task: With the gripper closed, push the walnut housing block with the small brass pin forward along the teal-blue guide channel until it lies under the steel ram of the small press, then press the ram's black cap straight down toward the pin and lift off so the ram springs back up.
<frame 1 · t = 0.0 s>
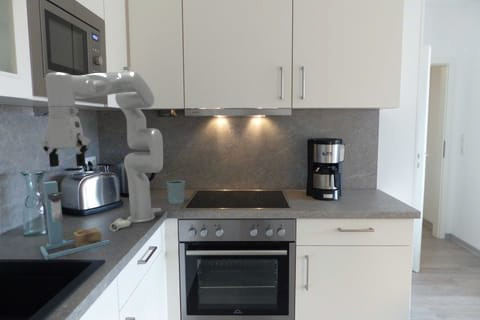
hand: (67, 166, 103), 31 cm above the countertop, tool pointing down, fingers open, 9 cm apart
pipe fitting: (121, 229, 137), on the countertop
drinking glass: (177, 202, 181), on the countertop
ram: (56, 207, 112), point 16 cm above the countertop, slide at 0.8 cm
housing: (87, 244, 119), resting in press
press: (60, 250, 114), on the countertop
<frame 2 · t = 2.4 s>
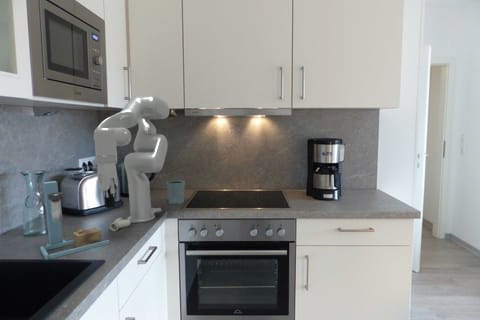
hand: (110, 206, 123), 13 cm above the countertop, tool pointing down, fingers closed
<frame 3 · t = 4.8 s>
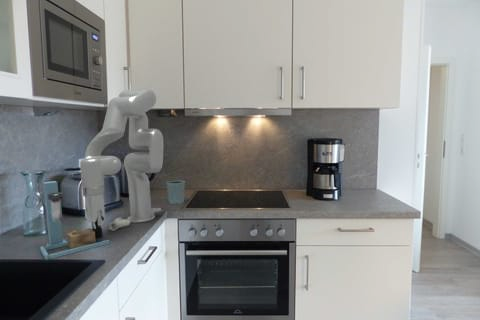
hand: (97, 237, 121), 1 cm above the countertop, tool pointing down, fingers closed
housing: (82, 245, 118), resting in press, touching gripper
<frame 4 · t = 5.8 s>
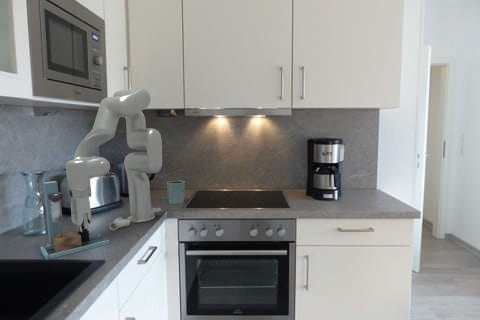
hand: (84, 241, 118), 1 cm above the countertop, tool pointing down, fingers closed
housing: (68, 249, 115), resting in press
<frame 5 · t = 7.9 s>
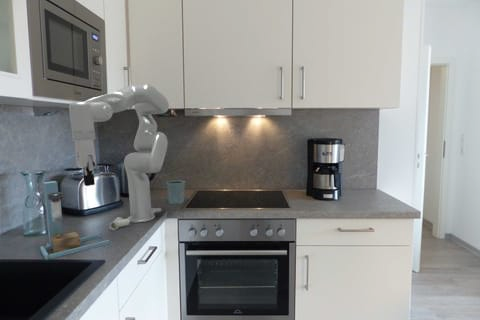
hand: (89, 185, 119), 22 cm above the countertop, tool pointing down, fingers closed
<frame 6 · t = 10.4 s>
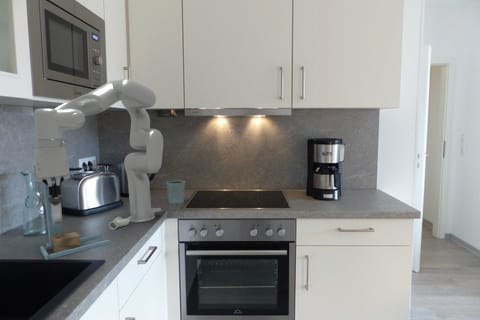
hand: (54, 196, 111), 20 cm above the countertop, tool pointing down, fingers closed
ram: (56, 210, 112), point 15 cm above the countertop, slide at 1.9 cm, touching gripper
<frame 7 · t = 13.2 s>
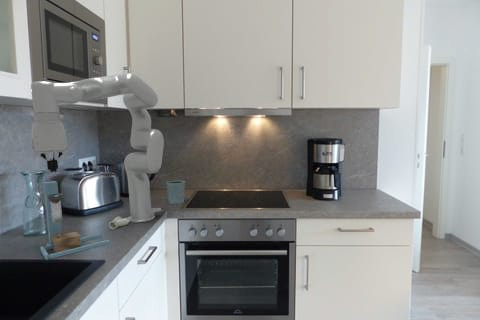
hand: (53, 171, 111), 29 cm above the countertop, tool pointing down, fingers closed
ram: (56, 208, 112), point 16 cm above the countertop, slide at 1.2 cm
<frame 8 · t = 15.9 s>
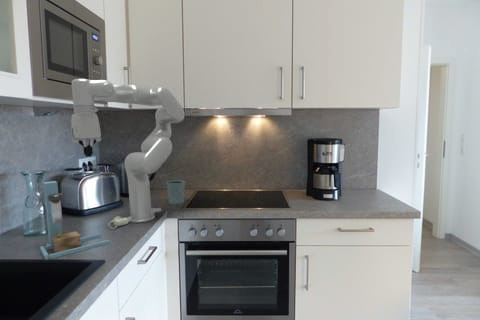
hand: (88, 156, 129), 32 cm above the countertop, tool pointing down, fingers closed
at the end: housing inside the target area (1.1 cm from its centre), resting in press; housing tilted 0°; ram slide at 1.2 cm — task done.
